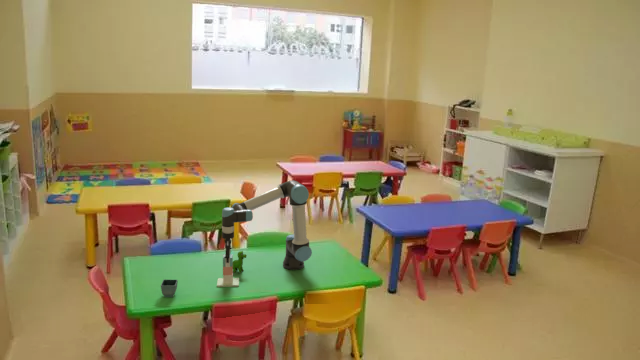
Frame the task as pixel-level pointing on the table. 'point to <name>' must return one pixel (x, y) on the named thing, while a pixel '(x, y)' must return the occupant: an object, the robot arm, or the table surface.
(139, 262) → the table surface
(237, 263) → the toy
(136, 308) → the table surface
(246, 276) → the table surface
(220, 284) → the plate
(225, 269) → the brick coral
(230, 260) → the brick teal
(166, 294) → the flower pot
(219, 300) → the table surface
